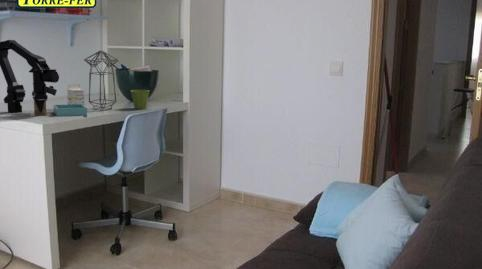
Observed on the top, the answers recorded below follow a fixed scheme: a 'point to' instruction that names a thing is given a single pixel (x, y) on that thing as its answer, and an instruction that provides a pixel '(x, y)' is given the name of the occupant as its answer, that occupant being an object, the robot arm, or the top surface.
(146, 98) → the plant pot
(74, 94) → the ink cartridge box
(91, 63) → the geometric lantern
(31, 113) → the stud plate
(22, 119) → the top surface
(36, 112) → the taped shipping carton
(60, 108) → the bin
